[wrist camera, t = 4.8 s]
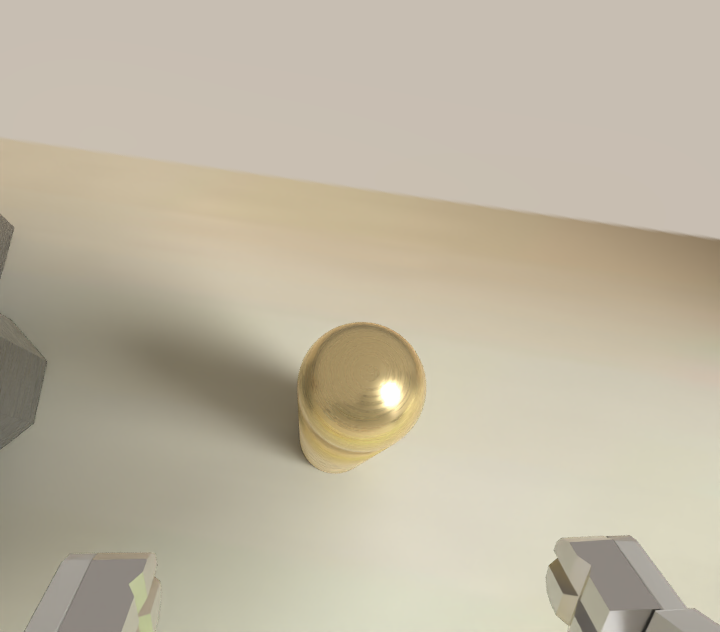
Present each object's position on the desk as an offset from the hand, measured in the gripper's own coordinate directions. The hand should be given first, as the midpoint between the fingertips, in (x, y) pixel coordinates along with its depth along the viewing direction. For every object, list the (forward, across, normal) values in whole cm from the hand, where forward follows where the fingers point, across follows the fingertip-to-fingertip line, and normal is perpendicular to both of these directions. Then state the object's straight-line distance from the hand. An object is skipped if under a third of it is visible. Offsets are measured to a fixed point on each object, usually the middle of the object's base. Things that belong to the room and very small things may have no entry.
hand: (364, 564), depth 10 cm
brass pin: (+10, 0, +4) cm, 10 cm away
